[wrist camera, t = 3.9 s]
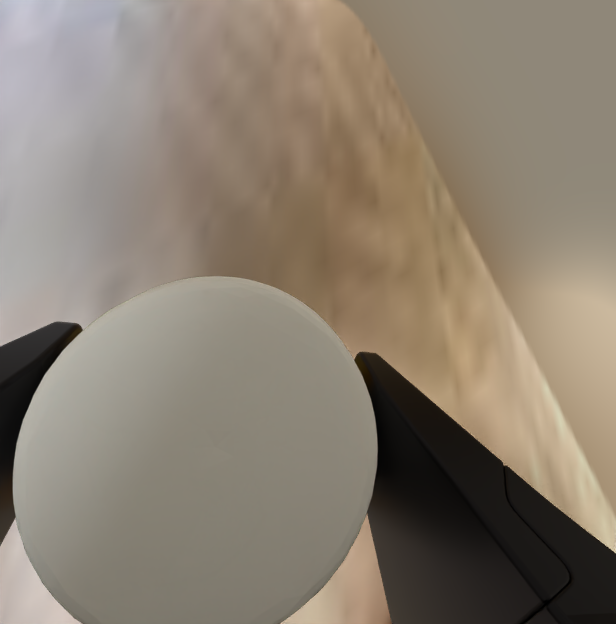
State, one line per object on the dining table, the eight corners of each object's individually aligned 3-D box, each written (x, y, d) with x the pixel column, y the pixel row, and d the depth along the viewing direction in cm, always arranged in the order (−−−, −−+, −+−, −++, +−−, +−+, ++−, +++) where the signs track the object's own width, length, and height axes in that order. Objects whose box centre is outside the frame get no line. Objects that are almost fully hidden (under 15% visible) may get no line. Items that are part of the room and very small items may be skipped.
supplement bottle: (197, 310, 14) (143, 131, 5) (319, 381, 15) (503, 353, 5) (107, 445, 13) (-268, 602, 3) (247, 520, 13) (314, 870, 3)
